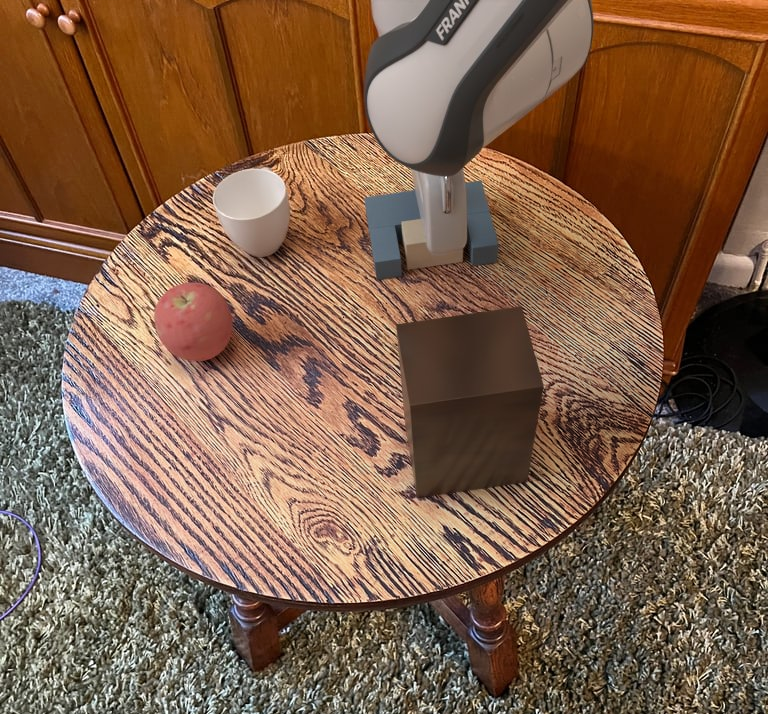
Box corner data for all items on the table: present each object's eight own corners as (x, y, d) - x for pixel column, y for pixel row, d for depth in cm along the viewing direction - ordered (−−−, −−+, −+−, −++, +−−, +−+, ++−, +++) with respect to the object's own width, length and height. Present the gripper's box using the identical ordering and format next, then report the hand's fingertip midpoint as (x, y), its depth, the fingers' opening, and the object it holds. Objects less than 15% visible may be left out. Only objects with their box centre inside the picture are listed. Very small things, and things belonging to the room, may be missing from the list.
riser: (509, 410, 73) (521, 305, 60) (527, 482, 69) (544, 386, 57) (405, 425, 73) (395, 323, 61) (416, 498, 69) (409, 405, 57)
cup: (219, 265, 85) (202, 215, 79) (246, 202, 89) (231, 151, 83) (287, 272, 83) (274, 222, 78) (310, 208, 88) (300, 156, 82)
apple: (241, 372, 77) (220, 317, 70) (168, 381, 78) (140, 327, 71) (240, 316, 81) (221, 259, 74) (171, 325, 81) (145, 268, 74)
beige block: (457, 239, 84) (457, 213, 81) (462, 262, 82) (463, 236, 79) (403, 247, 84) (401, 221, 81) (407, 270, 82) (405, 244, 79)
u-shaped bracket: (480, 198, 87) (481, 180, 84) (497, 262, 82) (498, 244, 80) (366, 215, 87) (364, 197, 84) (376, 280, 82) (374, 262, 80)
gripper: (487, 168, 62) (481, 292, 74) (447, 24, 72) (447, 154, 84) (410, 179, 62) (416, 301, 74) (380, 34, 72) (390, 162, 84)
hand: (432, 222), depth 79 cm, fingers open, 7 cm apart
